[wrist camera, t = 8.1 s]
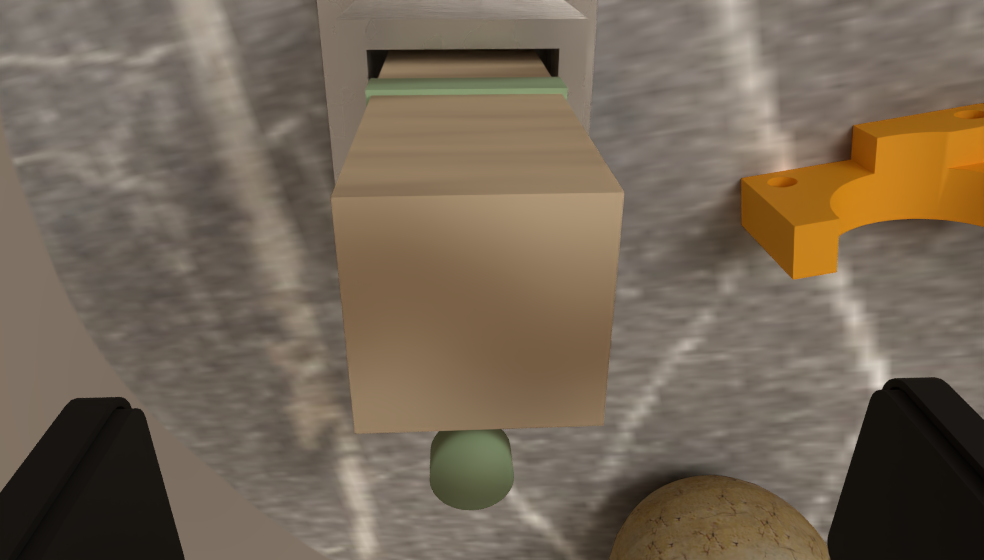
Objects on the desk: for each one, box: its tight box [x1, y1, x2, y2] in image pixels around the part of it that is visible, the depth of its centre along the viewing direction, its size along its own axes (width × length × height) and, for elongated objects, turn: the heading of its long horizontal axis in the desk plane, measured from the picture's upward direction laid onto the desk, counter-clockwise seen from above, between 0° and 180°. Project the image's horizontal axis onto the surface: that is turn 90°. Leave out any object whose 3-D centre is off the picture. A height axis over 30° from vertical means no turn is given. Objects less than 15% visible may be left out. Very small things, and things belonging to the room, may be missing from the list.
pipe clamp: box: [741, 103, 984, 279], centre depth 34 cm, size 12×4×6 cm, turn 99°
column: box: [331, 49, 624, 434], centre depth 21 cm, size 6×6×15 cm
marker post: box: [430, 429, 514, 510], centre depth 32 cm, size 6×6×14 cm
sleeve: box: [317, 0, 598, 185], centre depth 29 cm, size 12×12×10 cm
